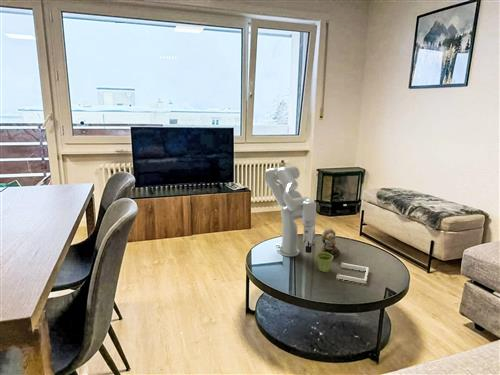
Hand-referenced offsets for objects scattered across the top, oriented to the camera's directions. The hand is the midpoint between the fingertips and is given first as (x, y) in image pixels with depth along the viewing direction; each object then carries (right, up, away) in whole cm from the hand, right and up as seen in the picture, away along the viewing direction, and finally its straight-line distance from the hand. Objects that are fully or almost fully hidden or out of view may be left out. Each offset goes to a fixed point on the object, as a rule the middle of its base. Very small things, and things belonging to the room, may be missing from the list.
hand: (308, 252), depth 196 cm
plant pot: (+9, -10, -1) cm, 14 cm away
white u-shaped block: (+24, -12, -7) cm, 27 cm away
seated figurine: (+17, -5, +20) cm, 27 cm away
